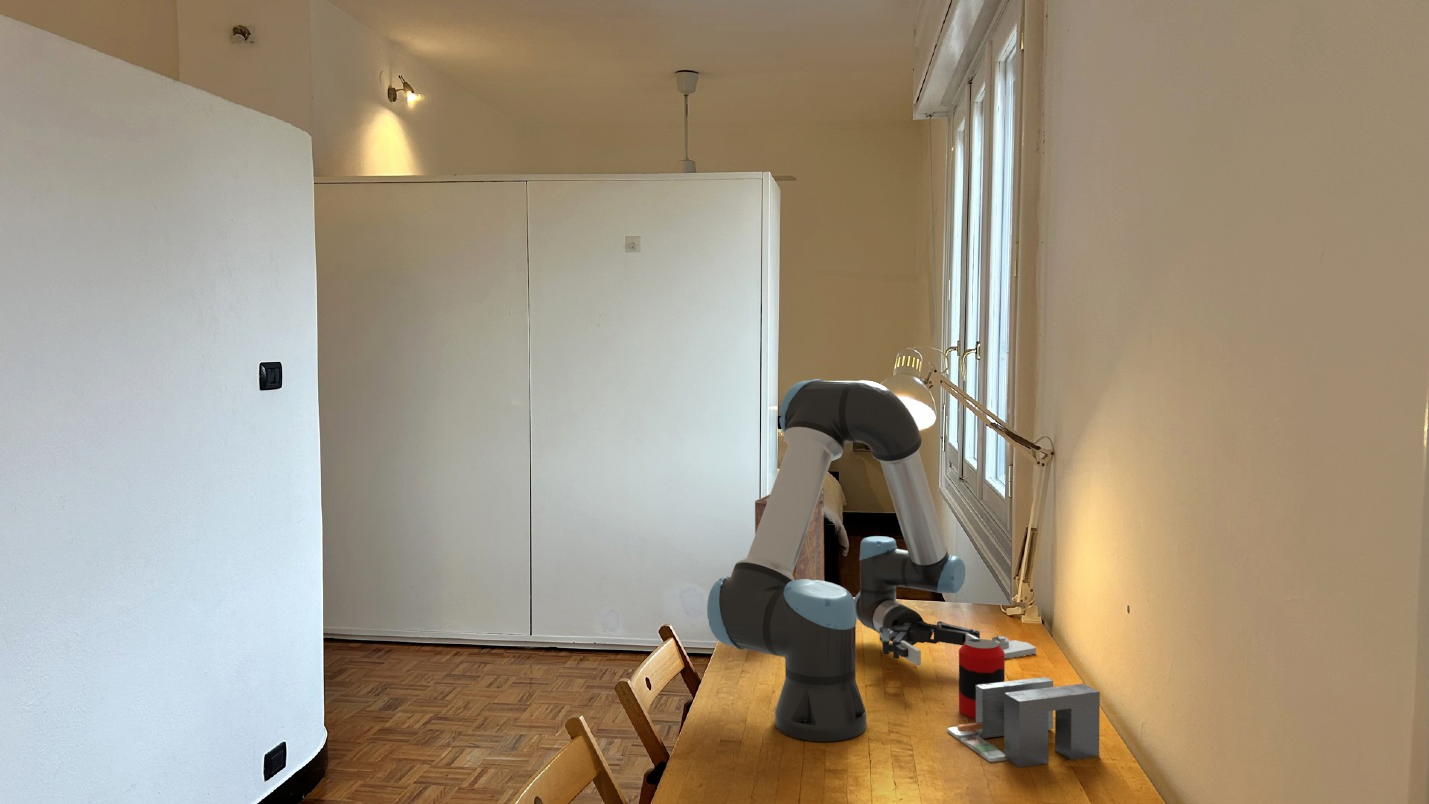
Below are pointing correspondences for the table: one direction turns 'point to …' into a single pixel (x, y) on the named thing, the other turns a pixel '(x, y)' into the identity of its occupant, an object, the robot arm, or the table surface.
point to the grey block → (1000, 705)
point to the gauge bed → (1043, 726)
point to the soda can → (978, 670)
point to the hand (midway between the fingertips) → (953, 654)
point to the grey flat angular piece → (1014, 647)
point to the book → (805, 542)
